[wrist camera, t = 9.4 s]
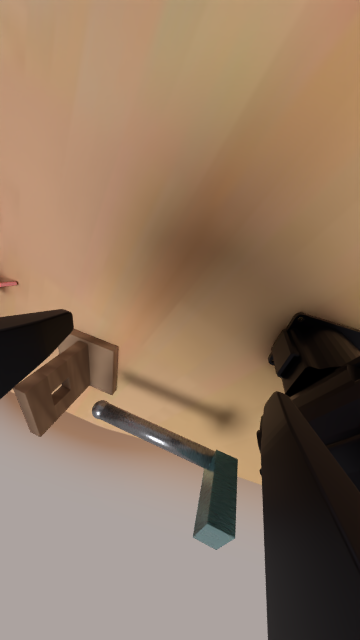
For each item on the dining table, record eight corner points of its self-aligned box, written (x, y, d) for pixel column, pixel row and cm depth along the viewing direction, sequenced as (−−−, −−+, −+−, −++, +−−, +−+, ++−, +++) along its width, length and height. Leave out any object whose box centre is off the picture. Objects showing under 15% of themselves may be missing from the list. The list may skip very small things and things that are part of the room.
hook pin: (238, 448, 21) (235, 538, 15) (223, 467, 24) (216, 549, 18) (99, 387, 24) (50, 442, 18) (99, 410, 27) (57, 464, 21)
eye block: (118, 346, 27) (57, 406, 19) (116, 389, 33) (68, 453, 24) (61, 324, 29) (-20, 369, 20) (68, 368, 34) (6, 420, 25)
